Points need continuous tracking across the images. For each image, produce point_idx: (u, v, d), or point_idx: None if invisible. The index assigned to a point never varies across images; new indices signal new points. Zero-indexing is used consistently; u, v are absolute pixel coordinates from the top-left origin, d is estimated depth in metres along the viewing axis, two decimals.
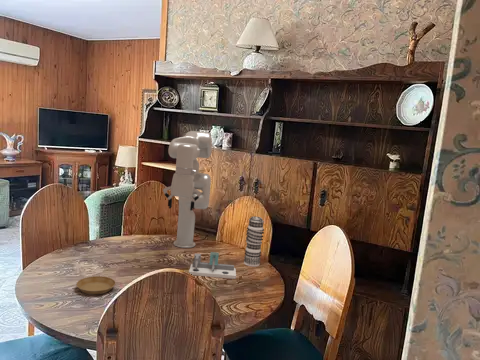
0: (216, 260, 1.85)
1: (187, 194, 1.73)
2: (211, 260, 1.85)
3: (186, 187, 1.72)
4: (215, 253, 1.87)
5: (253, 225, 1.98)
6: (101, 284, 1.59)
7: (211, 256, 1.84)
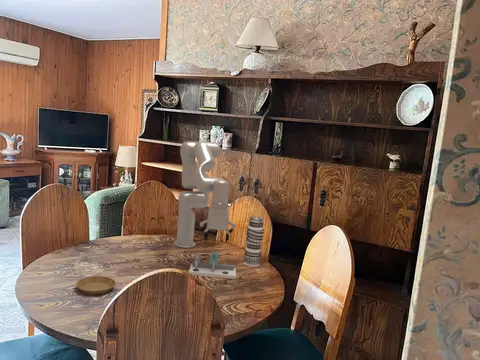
0: (216, 260, 1.85)
1: (222, 227, 1.82)
2: (211, 260, 1.85)
3: (222, 221, 1.82)
4: (215, 253, 1.87)
5: (253, 225, 1.98)
6: (101, 284, 1.59)
7: (211, 256, 1.84)
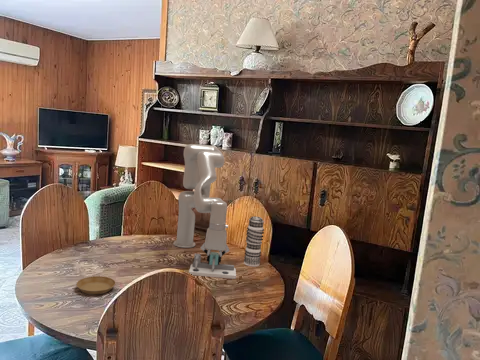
0: (216, 260, 1.85)
1: (220, 247, 1.84)
2: (211, 260, 1.85)
3: (219, 241, 1.83)
4: (215, 253, 1.87)
5: (253, 225, 1.98)
6: (101, 284, 1.59)
7: (211, 256, 1.84)
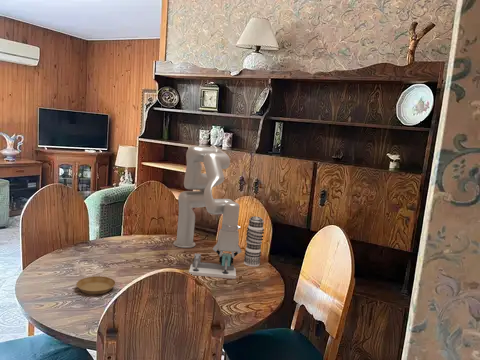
0: (228, 261, 1.85)
1: (232, 248, 1.84)
2: (223, 261, 1.85)
3: (232, 242, 1.83)
4: (227, 254, 1.87)
5: (253, 225, 1.98)
6: (101, 284, 1.59)
7: (223, 257, 1.85)
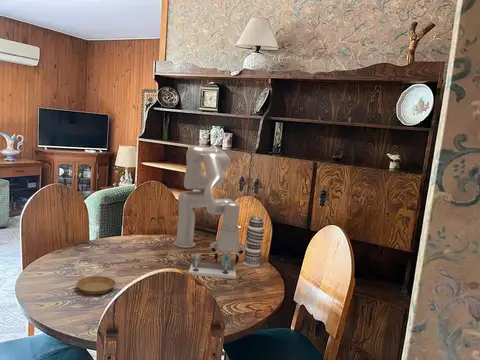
0: (228, 261, 1.85)
1: (233, 248, 1.84)
2: (223, 261, 1.85)
3: (232, 242, 1.84)
4: (227, 254, 1.87)
5: (253, 225, 1.98)
6: (101, 284, 1.59)
7: (223, 257, 1.85)
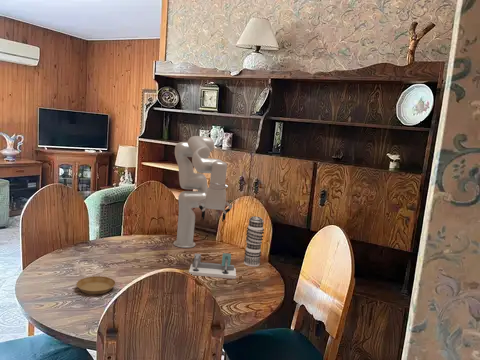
0: (228, 261, 1.85)
1: (219, 207, 1.89)
2: (223, 261, 1.85)
3: (219, 201, 1.88)
4: (227, 254, 1.87)
5: (253, 225, 1.98)
6: (101, 284, 1.59)
7: (223, 257, 1.85)
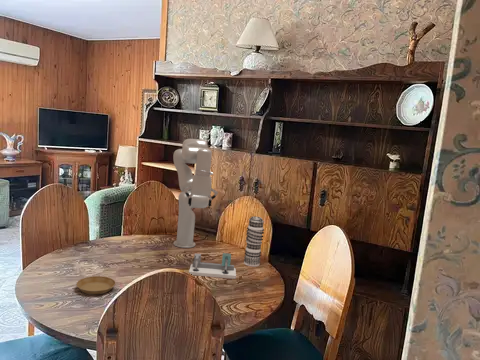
0: (228, 261, 1.85)
1: (205, 193, 1.94)
2: (223, 261, 1.85)
3: (205, 187, 1.93)
4: (227, 254, 1.87)
5: (253, 225, 1.98)
6: (101, 284, 1.59)
7: (223, 257, 1.85)
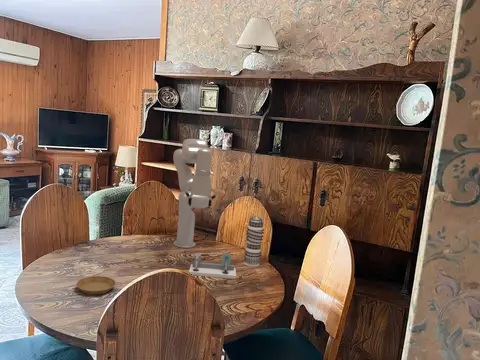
0: (228, 261, 1.85)
1: (205, 193, 1.94)
2: (223, 261, 1.85)
3: (205, 187, 1.93)
4: (227, 254, 1.87)
5: (253, 225, 1.98)
6: (101, 284, 1.59)
7: (223, 257, 1.85)
